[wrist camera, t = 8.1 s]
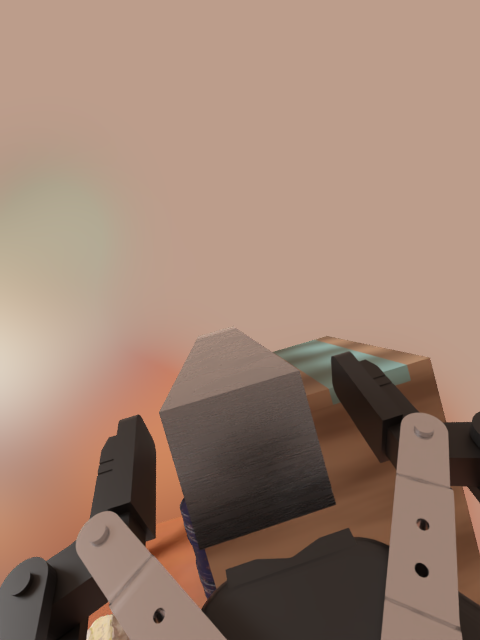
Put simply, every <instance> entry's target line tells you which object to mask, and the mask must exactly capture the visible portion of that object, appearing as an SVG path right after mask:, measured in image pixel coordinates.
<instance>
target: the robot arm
mask: <svg viewBox="0 0 480 640" xmlns="http://www.w3.org/2000/svg"><path fill="white" fill-rule="evenodd" d="M331 370H332V384H333V388H334V391H335V394H336V396H337V397H338V399H339V401H340V402H341V404H342V405H343V407H344V408H345V410H346V411H347V413H348V414H349V416H350V417H351V419H352V421H353V422H354V424H355V425H356V427H357V428H358V430H359V431H360V433H361V434H362V436H363V437H364V439H365V440H366V442H367V444H368V445H369V447H370V448H371V450H372V451H373V453H374V454H375V456H376V457H377V459H378V460H379V462H380V463H383V462H386V461H389V460H390V462H391V463H392V464H393V466H394V467H395V469H396V481H395V491H394V502H393V513H392V523H391V534H390V545H387V544H385V543H382V542H380V541H377V540H374V539H370V538H365V537H353V535H352V533H351V531H350V529H349V528H346V529H343V530H340V531H337V532H334V533H332V534H329V535H326V536H323V537H320V538H318V539H317V540H315V541H314V542H313V543H311V544H310V545H308V546H307V547H306V548H304V549H303V550H301V551H300V552H299V553H297V554H296V555H295V556H293V557H291V558H276V559H255V560H252V561H249V562H246V563H243V564H241V565H238V566H235V567H232V568H229V569H226V577H227V580H226V581H225V582H224V583H222V584H221V585H220V586H219V587H218V588H217V589H216V590H215V591H214V592H213V593H212V594H211V596H210V597H209V598H208V600H207V601H206V603H205V604H204V606H203V608H202V609H200V608H199V607H198V606H197V605H196V604H195V602H194V601H193V600H192V599H191V598H190V597H189V596H188V594H187V593H186V592H185V591H184V590H183V589H182V587H181V586H180V585H179V584H178V583H177V582H176V581H175V579H174V578H173V577H172V576H171V575H170V574H169V572H168V571H167V570H166V569H165V568H164V567H163V566H162V564H161V563H160V562H159V561H158V560H157V559H156V558H155V557H154V556H153V555H152V554H151V553H150V552H149V551H148V550H147V549H146V547H145V544H146V541H149V540H152V539H155V538H156V449H155V444H154V441H153V439H152V436H151V435H150V433H149V431H148V429H147V427H146V425H145V423H144V421H143V419H142V418H141V416H140V415H136V416H132V417H129V418H126V419H122V420H120V421H119V424H118V431H117V435H116V436H113V437H109V439H108V440H107V442H106V444H105V446H104V447H103V449H102V452H101V457H100V466H99V469H98V476H97V481H96V486H95V492H94V498H93V503H92V509H91V515H90V519H89V520H88V521H87V522H86V523H85V525H84V526H83V527H82V529H81V530H80V532H79V534H78V537H77V540H76V541H74V542H73V543H72V544H71V545H70V546H68V547H67V548H65V549H64V550H62V551H61V552H59V553H58V554H56V555H55V556H53V557H52V558H50V559H49V560H47V561H45V560H44V559H43V558H40V557H33V558H30V559H27V560H25V561H23V562H22V563H20V564H19V565H18V566H16V568H14V569H13V570H12V571H11V572H10V574H9V575H8V576H7V577H6V579H5V580H4V582H3V584H2V586H1V587H0V640H86V639H87V629H88V618H89V616H90V615H91V614H92V613H94V612H95V611H96V610H98V609H99V608H100V607H102V606H103V605H104V604H106V603H107V602H108V601H109V603H110V604H109V607H110V609H111V611H112V613H113V614H114V616H115V617H116V619H117V620H118V622H119V623H120V625H121V627H122V628H123V630H124V631H125V633H126V634H127V636H128V637H129V639H130V640H480V605H479V604H477V603H476V602H474V601H473V600H471V599H470V598H468V597H467V596H465V595H464V594H462V593H461V592H459V591H458V577H457V554H456V531H455V508H454V493H453V489H452V488H451V487H450V486H467V487H468V488H469V489H470V491H471V492H472V493H473V495H474V496H475V497H476V498H477V500H478V501H479V502H480V412H478V413H476V414H475V416H474V417H473V420H472V422H456V423H455V422H451V423H448V422H441V421H440V420H439V419H438V418H436V417H434V416H432V415H429V414H426V413H420V412H419V411H418V410H417V409H416V408H415V407H414V406H413V405H412V404H411V403H410V401H409V400H408V399H407V398H406V397H405V396H404V395H403V394H402V393H401V391H400V390H399V389H398V388H397V387H396V386H395V385H394V384H392V381H391V380H390V379H389V378H388V377H387V376H386V375H385V374H384V373H383V371H382V370H381V369H380V368H379V367H378V366H377V365H375V364H373V363H371V362H370V361H368V360H366V359H365V360H362V361H358V360H357V359H356V357H355V356H354V355H353V354H352V353H351V352H350V351H347V352H344V353H341V354H337V355H334V356H332V357H331Z"/></svg>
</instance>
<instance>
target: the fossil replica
mask: <svg viewBox="0 0 480 640" xmlns="http://www.w3.org/2000/svg"><path fill="white" fill-rule="evenodd" d="M86 640H130V639H129V637H128V636H127V634H126V633H125V631H124V630H123V628H122V627H121V625H120V623H119V622H118V620H117V619H116V617H115V616H114V615H113V614H111V615H106V616H103V617H100V618H99V619H97V620H96V621H95V622H94V623H93V624H92V626H91V627H90V628H89V630H88V631H87V639H86Z"/></svg>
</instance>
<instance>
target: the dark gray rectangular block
mask: <svg viewBox="0 0 480 640" xmlns="http://www.w3.org/2000/svg"><path fill="white" fill-rule="evenodd" d="M159 414H160V417H161V421H162V424H163V427H164V431H165V434H166V438H167V441H168V444H169V448H170V451H171V454H172V458H173V461H174V464H175V468H176V471H177V475H178V478H179V481H180V485H181V488H182V492H183V495H184V498H185V502H186V505H187V509H188V512H189V515H190V519H191V522H192V526H193V529H194V532H195V536H196V539H197V542H198V546H199V549H200V550H202V549H205V548H208V547H211V546H214V545H217V544H220V543H223V542H226V541H229V540H232V539H235V538H238V537H241V536H244V535H247V534H250V533H253V532H256V531H259V530H262V529H265V528H268V527H271V526H274V525H277V524H280V523H283V522H286V521H289V520H292V519H295V518H298V517H301V516H304V515H307V514H310V513H313V512H316V511H319V510H322V509H325V508H328V507H331V506H334V505H336V502H335V499H334V495H333V491H332V488H331V484H330V480H329V477H328V473H327V469H326V466H325V462H324V458H323V455H322V451H321V447H320V444H319V440H318V436H317V433H316V429H315V425H314V422H313V418H312V414H311V411H310V407H309V403H308V400H307V396H306V393H305V389H304V385H303V382H302V378H301V374H300V371H299V370H298V369H297V368H295V367H294V366H292V365H291V364H289V363H288V362H286V361H285V360H283V359H282V358H280V357H279V356H277V355H276V354H274V353H273V352H271V351H270V350H268V349H266V348H265V347H264V346H262V345H261V344H259V343H257V342H256V341H254V340H253V339H251V338H250V337H249V336H247V335H246V334H244V333H243V332H241V331H239V330H238V329H236V328H235V327H230V328H226V329H223V330H219V331H216V332H213V333H209V334H205V335H202V336H199V337H198V338H197V340H196V342H195V344H194V346H193V348H192V350H191V352H190V354H189V356H188V358H187V360H186V362H185V363H184V366H183V367H182V369H181V371H180V373H179V375H178V377H177V379H176V381H175V383H174V385H173V386H172V388H171V390H170V392H169V394H168V396H167V398H166V400H165V402H164V404H163V406H162V408H161V410H160V411H159Z"/></svg>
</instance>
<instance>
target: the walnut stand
mask: <svg viewBox="0 0 480 640" xmlns="http://www.w3.org/2000/svg"><path fill="white" fill-rule="evenodd" d="M347 351H350V352H351V353H352V354H353V355H354V356H355V357H356V359H357V360H358V361H362V360H365V359H366V360H368V361H370V362H371V363H373V364H375V365H377V366H378V367H379V368H380V369H381V370H382V371H383V373H384V374H385V375H386V376H387V377H388V378H389V379H390V380H391V381H392V384H394V385H395V386H396V387H397V388H398V389H399V390H400V391H401V393H402V394H403V395H404V396H405V397H406V398H407V399H408V400H409V401H410V403H411V404H412V405H413V406H414V407H415V408H416V409H417V410H418V411H419V412H420V413H426V414H429V415H432V416H434V417H436V418H438V419H439V420H440V421H441V422H446V420H445V416H444V412H443V408H442V404H441V400H440V396H439V392H438V388H437V384H436V380H435V376H434V372H433V369H432V364H431V360H430V358H429V357H424V356H419V355H414V354H409V353H404V352H400V351H395V350H390V349H386V348H381V347H376V346H371V345H367V344H362V343H357V342H352V341H348V340H343V339H338V338H333V337H329V336H326V337H323V338H319V339H316V340H312V341H309V342H306V343H303V344H299V345H295V346H292V347H289V348H286V349H282V350H278V351H275V352H273V353H274V354H276V355H277V356H279V357H280V358H282V359H283V360H285V361H286V362H288V363H289V364H291V365H292V366H294V367H295V368H297V369H298V370H299V371H300V374H301V378H302V382H303V385H304V389H305V393H306V396H307V400H308V403H309V407H310V411H311V414H312V418H313V422H314V425H315V429H316V433H317V436H318V440H319V444H320V447H321V451H322V455H323V458H324V462H325V466H326V469H327V473H328V477H329V480H330V484H331V488H332V491H333V495H334V499H335V502H336V505H334V506H331V507H328V508H325V509H322V510H319V511H316V512H313V513H310V514H307V515H304V516H301V517H298V518H295V519H292V520H289V521H286V522H283V523H280V524H277V525H274V526H271V527H268V528H265V529H262V530H259V531H256V532H253V533H250V534H247V535H244V536H241V537H238V538H235V539H232V540H229V541H226V542H223V543H220V544H217V545H214V546H211V547H208V548H205V552H206V555H207V558H208V562H209V565H210V569H211V572H212V575H213V579H214V582H215V586H216V589H217V588H218V587H219V586H220V585H221V584H222V583H224V582H225V581H226V580H227V577H226V569H229V568H232V567H235V566H238V565H241V564H243V563H246V562H249V561H252V560H255V559H276V558H291V557H293V556H295V555H296V554H297V553H299V552H300V551H301V550H303V549H304V548H306V547H307V546H308V545H310V544H311V543H313V542H314V541H315V540H317V539H318V538H320V537H323V536H326V535H329V534H332V533H334V532H337V531H340V530H343V529H346V528H349V529H350V531H351V533H352V535H353V537H365V538H370V539H374V540H377V541H380V542H382V543H385V544H387V545H390V534H391V523H392V513H393V502H394V491H395V481H396V469H395V467H394V466H393V464H392V463H391V462H390V460H389V461H386V462H383V463H380V462H379V460H378V459H377V457H376V456H375V454H374V453H373V451H372V450H371V448H370V447H369V445H368V444H367V442H366V440H365V439H364V437H363V436H362V434H361V433H360V431H359V430H358V428H357V427H356V425H355V424H354V422H353V421H352V419H351V417H350V416H349V414H348V413H347V411H346V410H345V408H344V407H343V405H342V404H341V402H340V401H339V399H338V397H337V396H336V394H335V391H334V388H333V384H332V370H331V357H332V356H334V355H337V354H341V353H344V352H347ZM450 487H451V488H452V489H453V493H454V508H455V531H456V554H457V577H458V591H459V592H461V593H462V594H464V595H465V596H467V597H468V598H470V599H471V600H473V601H474V602H476V603H477V604H479V605H480V554H479V550H478V546H477V542H476V538H475V534H474V530H473V526H472V522H471V518H470V514H469V510H468V506H467V502H466V499H465V494H464V490H463V487H462V486H450Z"/></svg>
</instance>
